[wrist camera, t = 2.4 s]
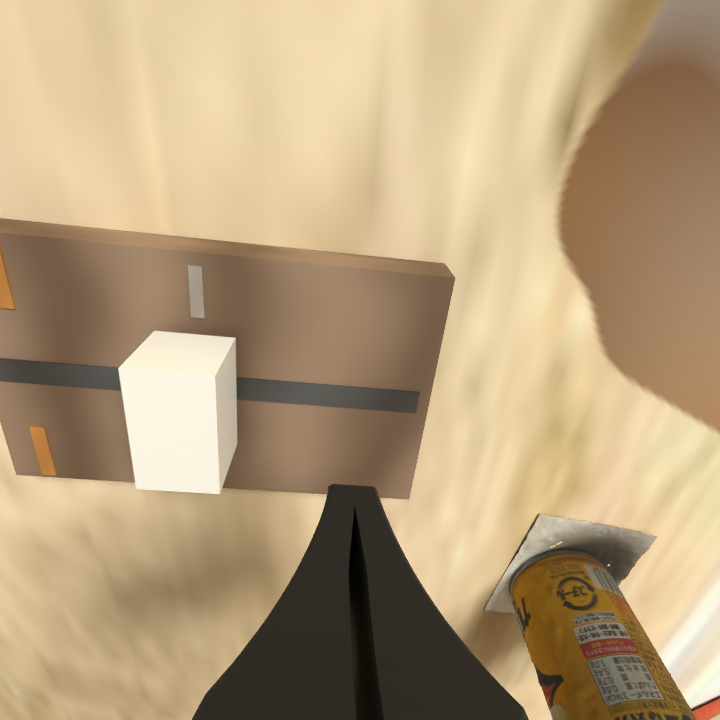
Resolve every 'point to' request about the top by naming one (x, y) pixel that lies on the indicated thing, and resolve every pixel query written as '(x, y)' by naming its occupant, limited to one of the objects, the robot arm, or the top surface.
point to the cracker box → (708, 711)
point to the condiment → (586, 623)
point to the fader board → (226, 319)
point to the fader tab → (181, 411)
